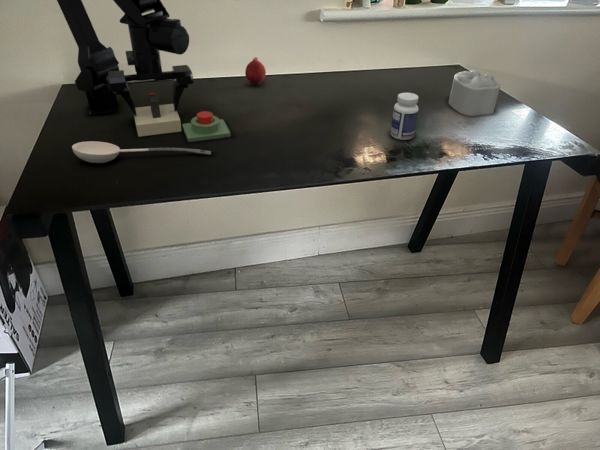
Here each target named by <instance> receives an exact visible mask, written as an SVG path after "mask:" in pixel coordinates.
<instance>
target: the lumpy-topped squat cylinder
mask: <svg viewBox="0 0 600 450" xmlns="http://www.w3.org/2000/svg"><path fill="white" fill-rule="evenodd" d="M500 90H501V84H500V83H499V82H498V81H496V80H495V78H494V75H493V74H491V73H485V74H484V73H483V74H481V72H480V71H478V70H477V69H473V70H470V71H469V70H463V71H459V72H457V73H455V74H454V77H453V81H452V85H451V90H450V95H449V99H448V105H449V106H450V107H451V108H452V109H454V110H455V111H456V112H458V113H459V114H461V115H464V116H469V117H475V116H482V115H483V116H485V115H488V116H489V115H492V114H494V112H495V108H496V104H497V102H498V98H499V93H500Z"/></svg>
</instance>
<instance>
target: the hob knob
mask: <svg viewBox="0 0 600 450" xmlns="http://www.w3.org/2000/svg"><path fill="white" fill-rule="evenodd" d="M147 95H148V100H149V106H150V107H151V112H152V116H153V118H159V117H161V114H160V108H159V105H160V103H159V102H160V101H159V98H158V94H157V93H156V92H149V93H148V94H147Z"/></svg>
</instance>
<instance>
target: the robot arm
mask: <svg viewBox="0 0 600 450" xmlns="http://www.w3.org/2000/svg"><path fill="white" fill-rule="evenodd" d="M112 1H113V2H114V3H115V5H116V6H117V7H118V8H119V9H120V10H121V11H122V12H123V13H124V14H123V16H122V17H121V18H120V19H119V23H120V24H124V25H127V27H128V33H129V39H130V40H129V41H130V45H131V50H125V52H124V53H125V56H126V63H127V66H134V70H135V73H134V74H125V71H124V69H120V66H119V64H120V62H119V61H118V59H117V57H116V55H115V52H114V50H113V48H112V47H111V46H108V47H106V46H105V45H104V44H103V43H102V42H101V41H100V40H99V37H98V35H97V33H96V30H95V29H94V26H93V23H92V21H91V19H90V16H89V14H88V12H87V9H86V7H85V5H84V3H83V1H82V0H56V2H57V4H58V7H59V8H60V10H61V13H62V15H63V17H64V19H65V21H66V23H67V26H68V28H69V30H70V32H71V35H72V36H73V40H74V41H75V44H76V45H77V48H78V52H77V53H78V54H77V64H78V67H79V70H80V72H79V74H78V76H76V78H75V80H74V83H75V85H76V88H77V90H79V91H82V92H85V97H86V99H87V104H88V108H89V115H90V116H99V115H109V114H117V113H118V108H119V102H118V97H117V95H118V96H121V97H122V98H123V100H124V101H125V102H126V103H127V105H128V107H129V108H130V110H131V112H132V113H133V116H134V115H135V116H137V114H136V109H135V108H136V105H135V102H134V99H133V97H132V94H131V90H130V86H129V85H132V84H141V83H142V84H143V83H150V82H152V83H153V82H164V81H172V104H173V105H174V111H177V112H178V107H179V103H180V99H181V97H182V95H183V93H184V90H185V89H188V88H189V85H192V84H194V75H193V71H192V69H191V67H190V66H189V65H187V64H181V65H172V66H171V70H170V71H169V70H168V71H167V70H166V71H163V68H162V67H163V66H162V60H161V53H160V52H164V53H165V52H166V53H170V54H174V55H183V54H185V53H186V52H187V50H188V48H189V46H190V45H189V44H190V34H189V33H188V31H187V29H186V28H185V27H184V26H183V25H182V22H181V19H179V18H170V13H169V12H168V10H167V8H166V7H165V6H164V4H163V2H162V1H161V0H112Z"/></svg>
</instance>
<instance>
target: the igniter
mask: <svg viewBox="0 0 600 450" xmlns="http://www.w3.org/2000/svg"><path fill="white" fill-rule="evenodd" d="M181 128H182V130H183V133H184V135H185V137H186V140H187V142H188V143H191V142H192V143H193V142H200V141H207V140H216V139H224V138H230V137H232V134H231V131H230V130H229V127H228V126H227V124H226V122H225V120H224V119H223V118H221V119H220V118H219V116H216V115H214V114H213V123H210V124H205V125H204V124H199V123H198V121H197V115H196V116H194V117H193V118H192V119H191V120H190V122H187V123H181Z"/></svg>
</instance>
